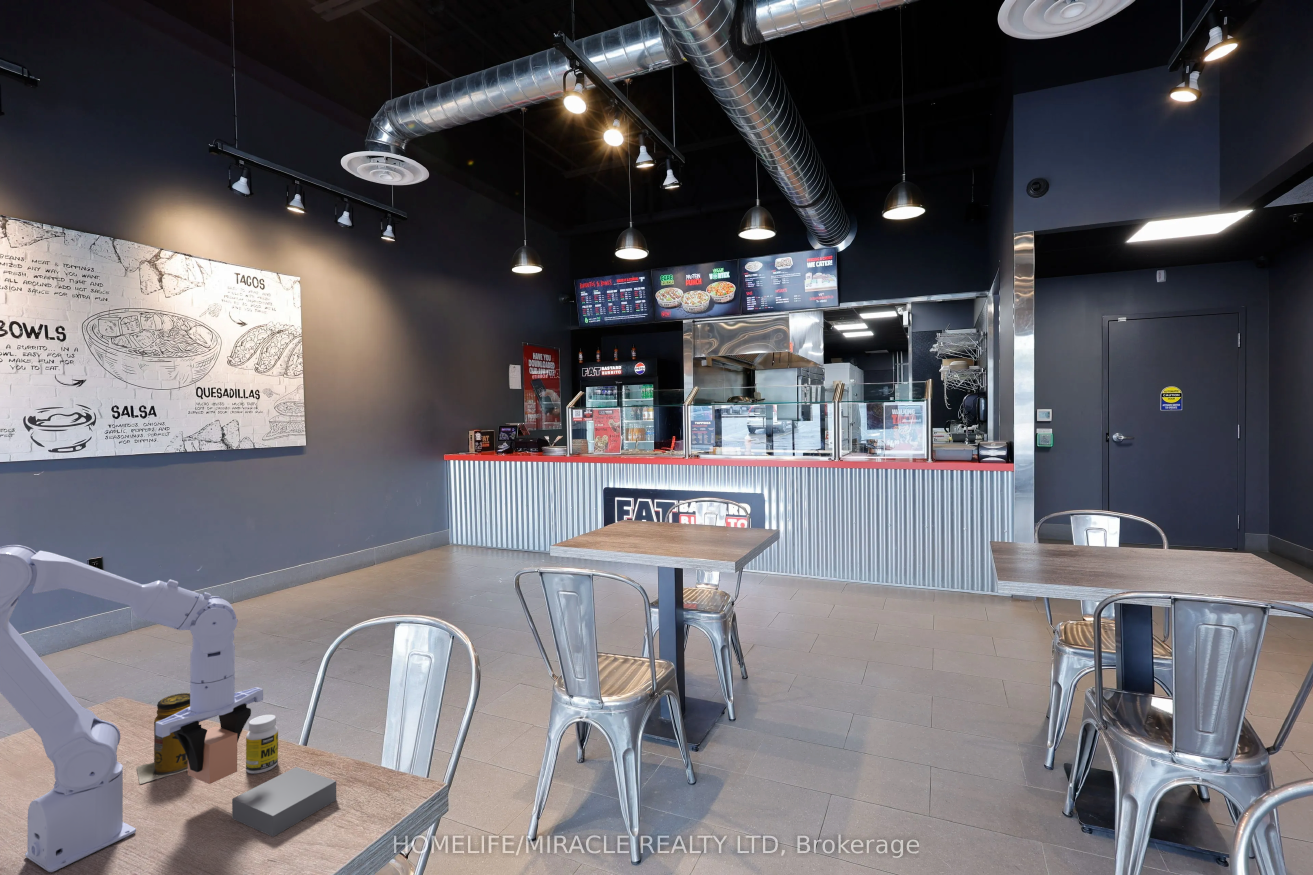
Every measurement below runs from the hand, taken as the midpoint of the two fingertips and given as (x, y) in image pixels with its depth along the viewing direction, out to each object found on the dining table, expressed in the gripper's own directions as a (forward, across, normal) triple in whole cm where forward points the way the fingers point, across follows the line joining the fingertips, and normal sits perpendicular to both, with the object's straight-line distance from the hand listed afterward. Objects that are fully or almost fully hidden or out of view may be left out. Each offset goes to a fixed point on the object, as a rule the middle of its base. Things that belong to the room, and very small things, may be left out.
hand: (212, 762), depth 96 cm
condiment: (+7, +3, +19) cm, 20 cm away
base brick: (+6, +4, -12) cm, 14 cm away
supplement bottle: (+7, +10, +4) cm, 13 cm away
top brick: (+2, 0, 0) cm, 2 cm away
